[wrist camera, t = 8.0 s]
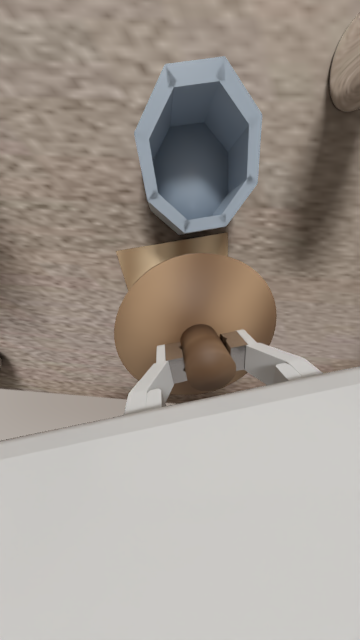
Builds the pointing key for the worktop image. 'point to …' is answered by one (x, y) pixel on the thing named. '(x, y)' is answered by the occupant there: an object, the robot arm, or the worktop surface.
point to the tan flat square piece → (167, 254)
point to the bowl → (199, 145)
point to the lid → (194, 317)
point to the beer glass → (347, 69)
